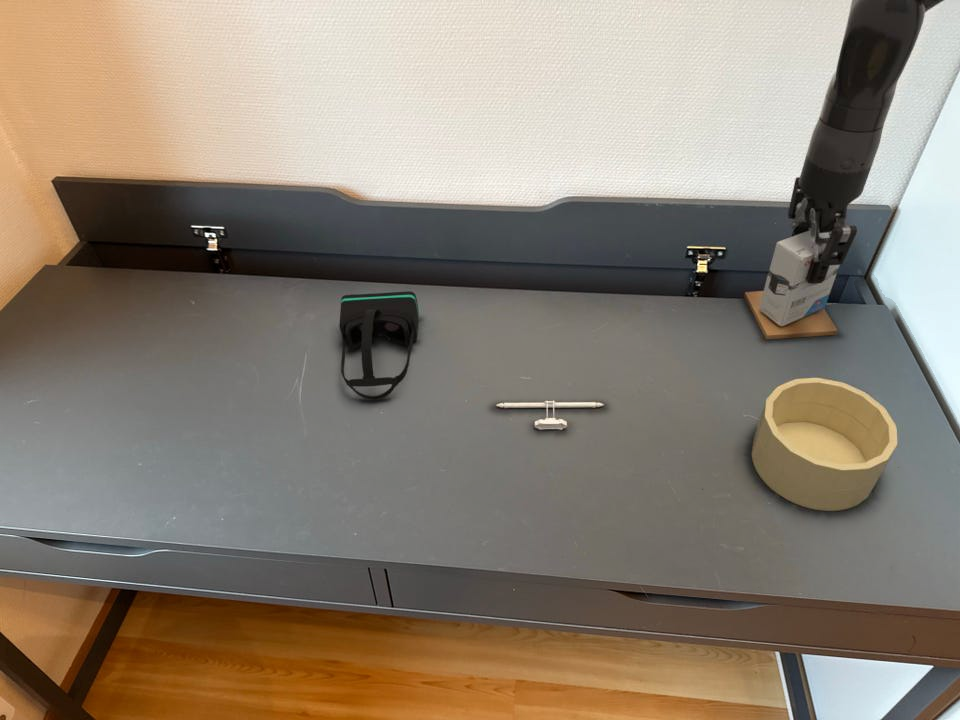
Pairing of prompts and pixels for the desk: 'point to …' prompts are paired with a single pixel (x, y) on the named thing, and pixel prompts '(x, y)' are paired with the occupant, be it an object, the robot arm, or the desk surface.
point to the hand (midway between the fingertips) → (804, 266)
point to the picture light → (548, 422)
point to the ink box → (794, 281)
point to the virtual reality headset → (377, 331)
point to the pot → (822, 443)
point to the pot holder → (802, 327)
